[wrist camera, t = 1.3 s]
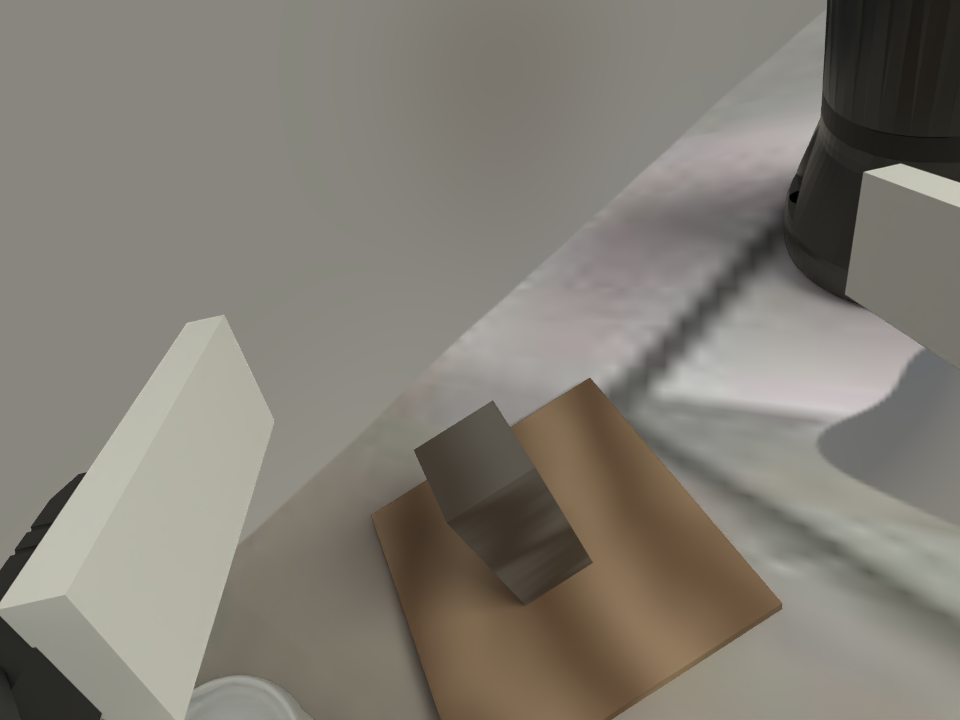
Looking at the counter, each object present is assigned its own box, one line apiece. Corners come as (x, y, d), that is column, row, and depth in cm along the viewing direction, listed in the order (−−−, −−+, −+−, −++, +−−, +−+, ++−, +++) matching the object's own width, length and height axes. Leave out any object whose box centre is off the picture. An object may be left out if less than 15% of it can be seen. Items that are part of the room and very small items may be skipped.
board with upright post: (594, 388, 38) (545, 261, 30) (781, 611, 27) (783, 502, 19) (380, 523, 38) (273, 429, 30) (479, 807, 26) (350, 780, 18)
